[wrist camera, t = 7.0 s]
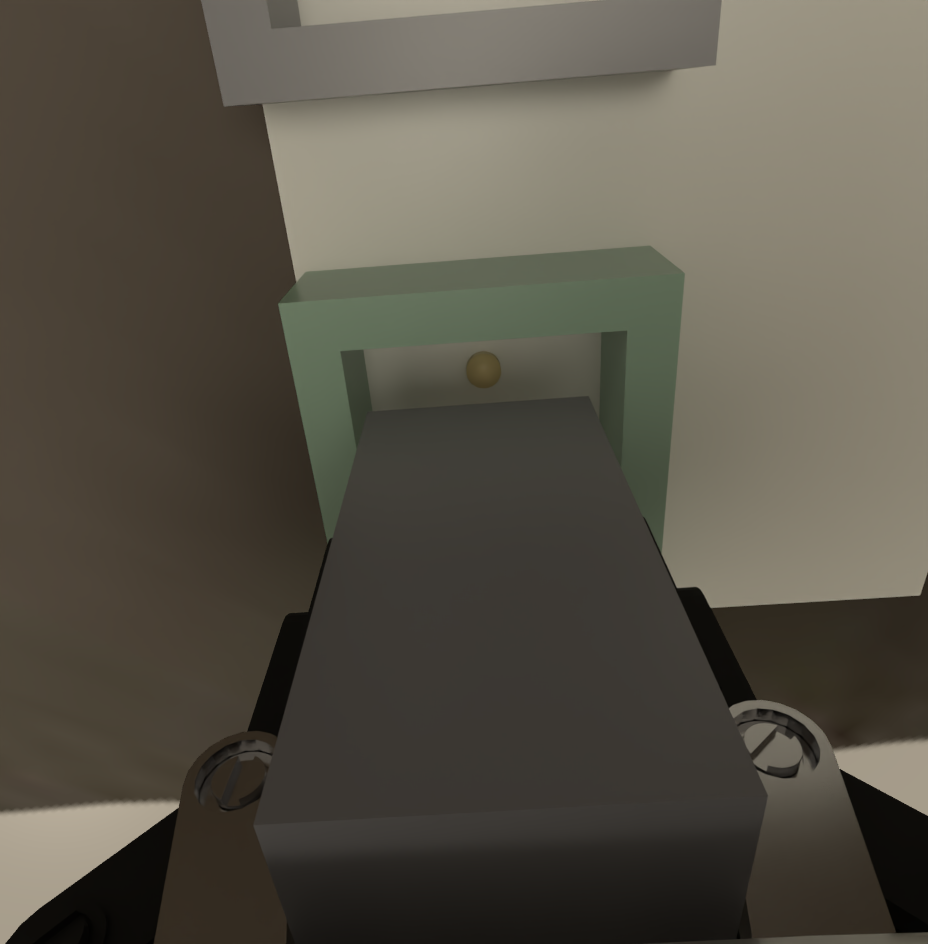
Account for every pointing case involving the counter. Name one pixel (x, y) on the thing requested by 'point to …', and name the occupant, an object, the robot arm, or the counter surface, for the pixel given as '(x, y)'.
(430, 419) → the plug
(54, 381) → the counter surface
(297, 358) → the green rectangular frame
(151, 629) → the counter surface
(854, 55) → the board
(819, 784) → the robot arm
